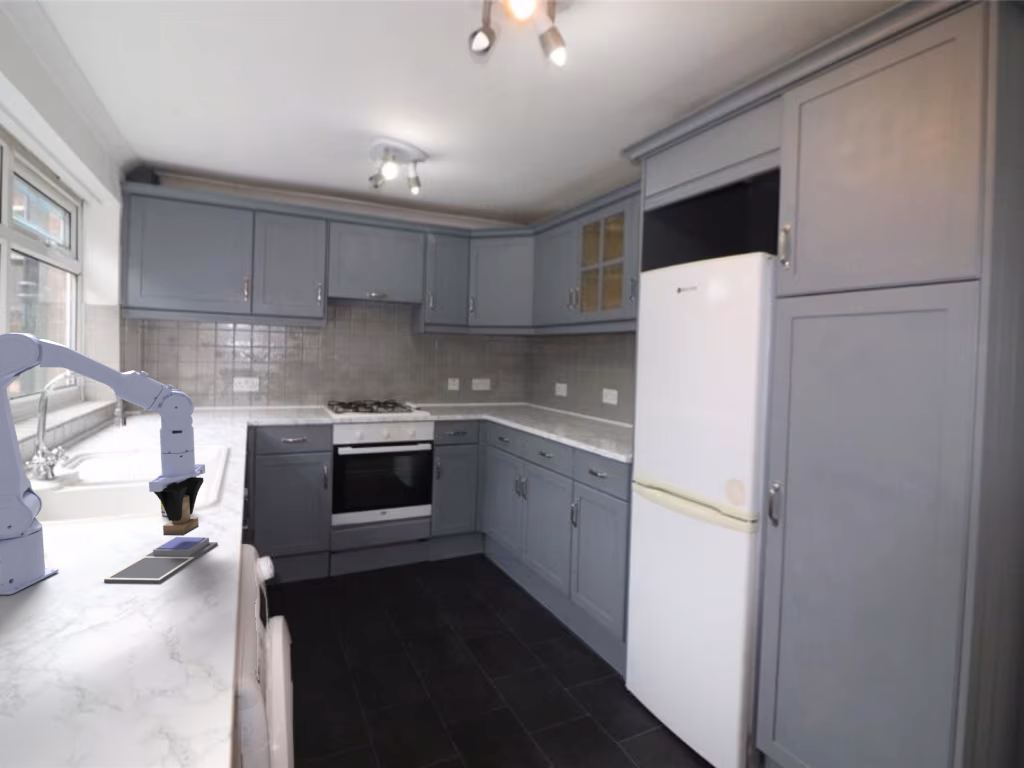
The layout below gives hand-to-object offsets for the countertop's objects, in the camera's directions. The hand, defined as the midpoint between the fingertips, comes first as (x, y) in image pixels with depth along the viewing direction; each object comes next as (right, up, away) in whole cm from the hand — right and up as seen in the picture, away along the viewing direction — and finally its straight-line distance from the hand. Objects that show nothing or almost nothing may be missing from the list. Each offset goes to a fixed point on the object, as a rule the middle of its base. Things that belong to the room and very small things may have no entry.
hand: (180, 517), depth 108 cm
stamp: (0, -3, 0) cm, 3 cm away
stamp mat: (0, -8, -4) cm, 9 cm away
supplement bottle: (-17, -5, +25) cm, 31 cm away
